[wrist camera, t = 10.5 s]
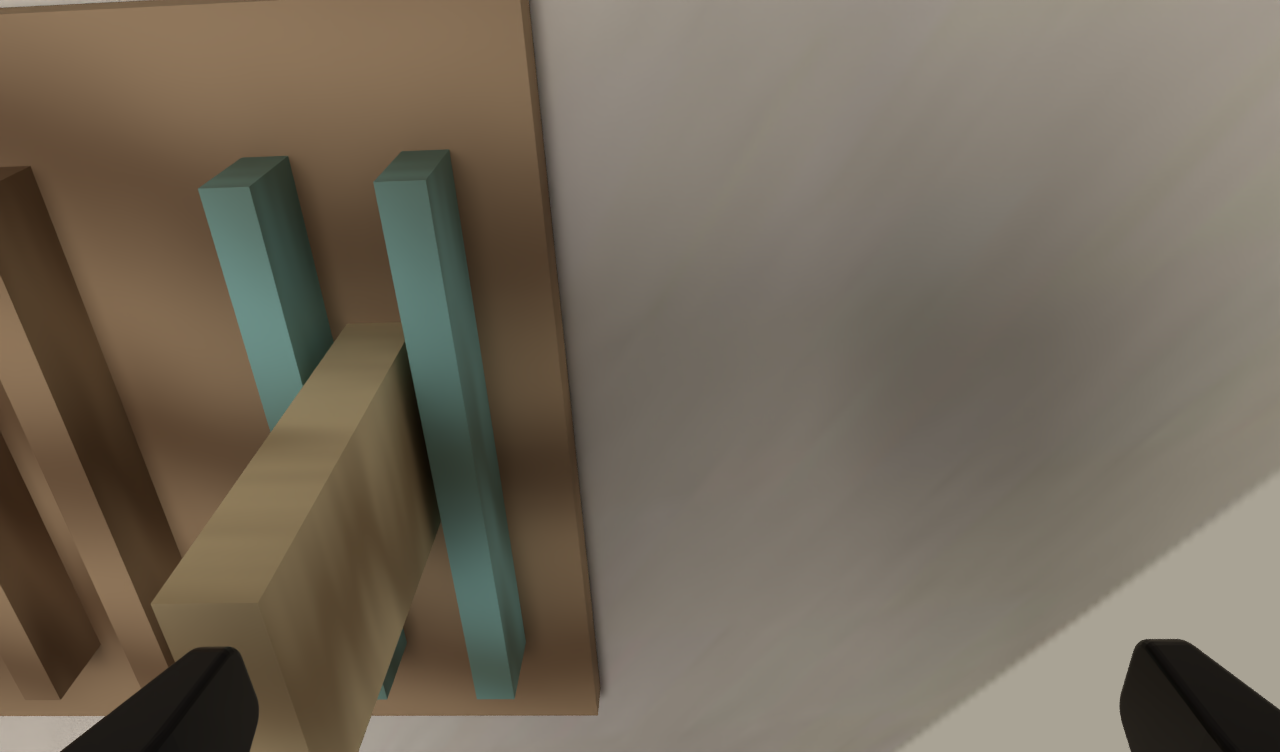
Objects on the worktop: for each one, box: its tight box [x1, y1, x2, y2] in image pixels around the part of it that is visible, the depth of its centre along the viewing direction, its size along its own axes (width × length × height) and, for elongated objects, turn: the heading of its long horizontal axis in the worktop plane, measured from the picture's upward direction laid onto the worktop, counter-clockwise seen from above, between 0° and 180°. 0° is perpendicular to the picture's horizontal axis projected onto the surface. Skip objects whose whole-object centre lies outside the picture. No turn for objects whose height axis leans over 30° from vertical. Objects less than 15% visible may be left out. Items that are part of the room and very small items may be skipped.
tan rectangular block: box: [151, 322, 441, 752], centre depth 19 cm, size 5×2×9 cm, turn 3°
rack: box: [0, 0, 600, 716], centre depth 23 cm, size 20×24×3 cm
